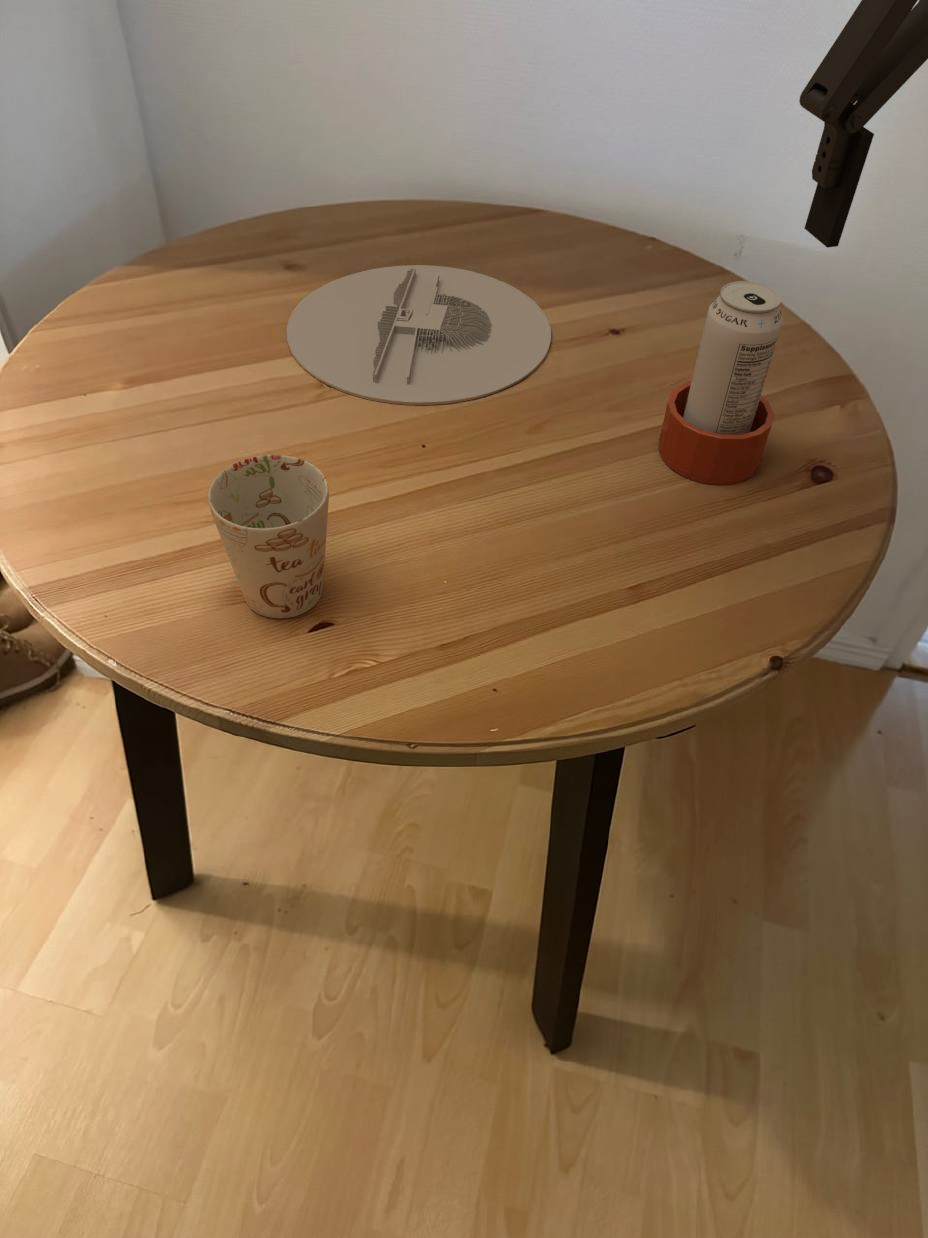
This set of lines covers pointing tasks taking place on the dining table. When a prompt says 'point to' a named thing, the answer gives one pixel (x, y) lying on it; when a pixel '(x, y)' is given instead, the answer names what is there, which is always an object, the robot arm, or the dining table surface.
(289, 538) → the mug
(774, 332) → the energy drink can
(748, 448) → the holder
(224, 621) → the dining table surface
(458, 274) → the plate
